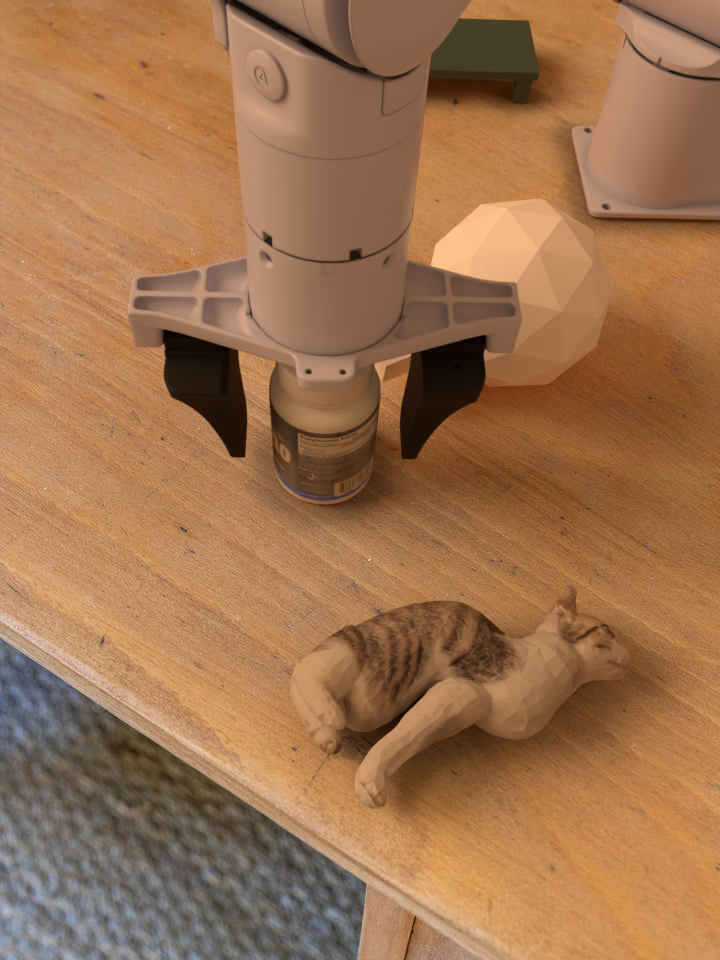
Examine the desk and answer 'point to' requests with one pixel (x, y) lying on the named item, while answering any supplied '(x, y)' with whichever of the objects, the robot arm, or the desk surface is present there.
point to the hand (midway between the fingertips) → (323, 440)
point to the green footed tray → (489, 54)
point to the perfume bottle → (530, 286)
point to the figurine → (446, 679)
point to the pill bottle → (323, 435)
